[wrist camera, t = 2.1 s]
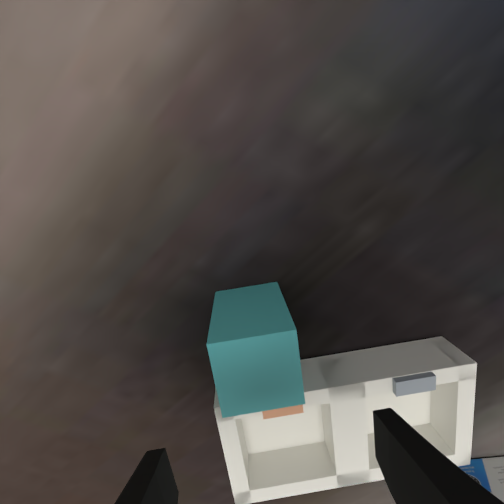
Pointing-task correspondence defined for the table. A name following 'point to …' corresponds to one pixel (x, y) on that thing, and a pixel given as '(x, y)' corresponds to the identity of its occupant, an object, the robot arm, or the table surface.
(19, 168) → the table surface
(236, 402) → the teal rectangular block
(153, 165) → the table surface
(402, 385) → the white divided tray
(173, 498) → the robot arm
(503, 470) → the ink box
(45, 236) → the table surface
